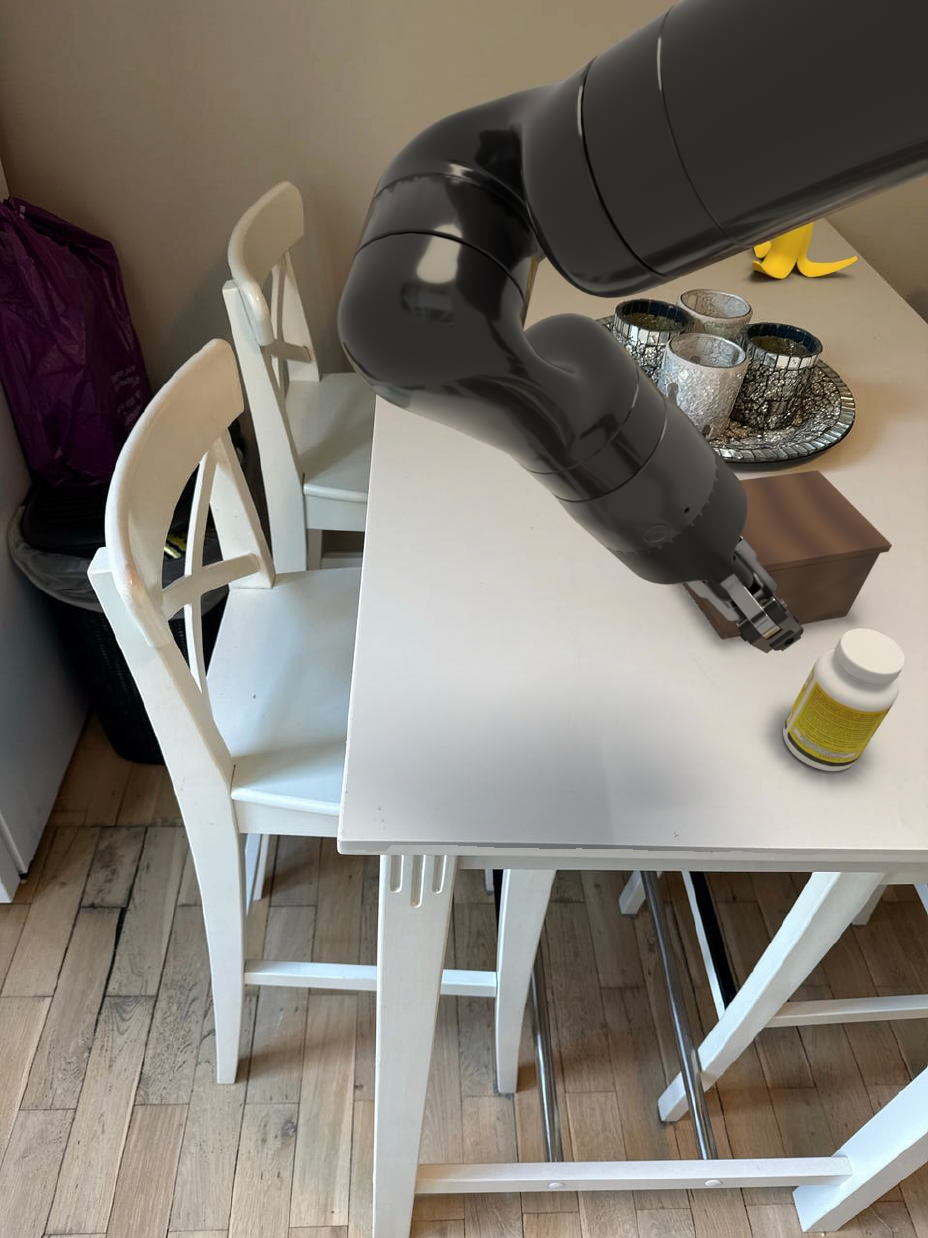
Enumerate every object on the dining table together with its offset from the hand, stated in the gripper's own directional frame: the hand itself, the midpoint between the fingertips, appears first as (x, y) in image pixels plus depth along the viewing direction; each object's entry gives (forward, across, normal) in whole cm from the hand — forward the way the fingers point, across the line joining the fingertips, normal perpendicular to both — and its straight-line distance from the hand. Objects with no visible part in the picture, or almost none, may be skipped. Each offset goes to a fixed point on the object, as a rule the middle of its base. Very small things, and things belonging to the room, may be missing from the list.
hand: (770, 615), depth 57 cm
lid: (+18, +18, -5) cm, 26 cm away
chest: (+23, +18, +1) cm, 30 cm away
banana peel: (+55, +86, -30) cm, 106 cm away
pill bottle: (+20, 0, +4) cm, 20 cm away
